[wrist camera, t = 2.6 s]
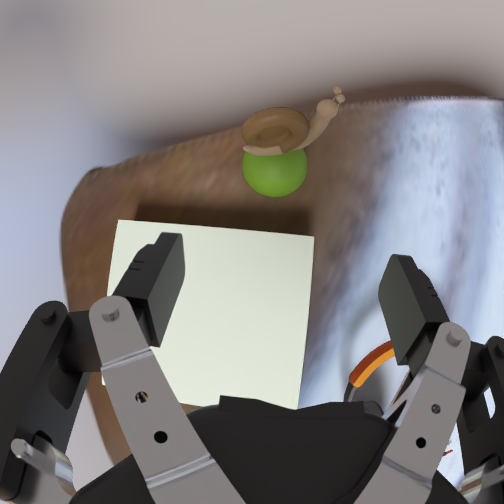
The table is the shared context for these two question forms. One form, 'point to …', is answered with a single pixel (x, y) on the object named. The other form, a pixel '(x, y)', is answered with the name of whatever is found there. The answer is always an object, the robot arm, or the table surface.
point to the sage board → (230, 311)
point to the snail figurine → (282, 145)
